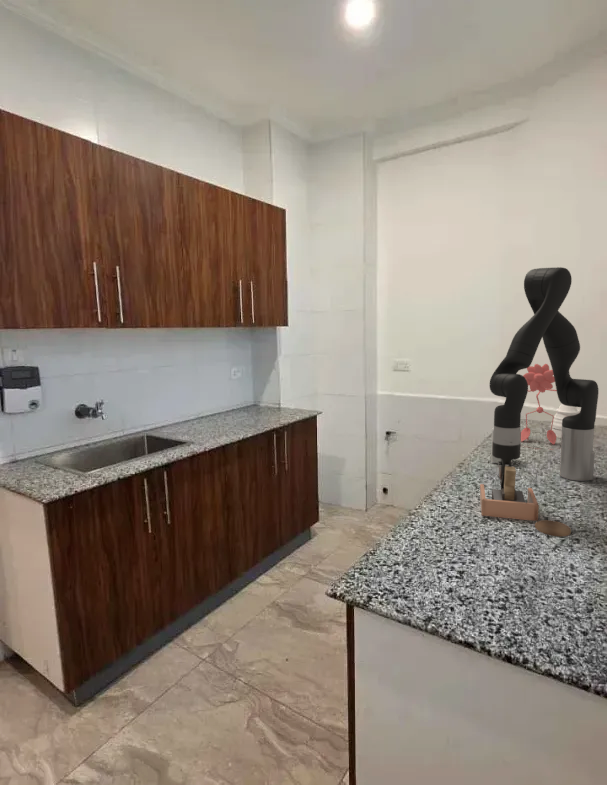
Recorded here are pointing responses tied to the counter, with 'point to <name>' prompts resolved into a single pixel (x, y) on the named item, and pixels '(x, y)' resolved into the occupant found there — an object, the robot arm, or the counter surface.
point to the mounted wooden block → (508, 488)
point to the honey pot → (560, 414)
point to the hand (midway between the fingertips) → (504, 497)
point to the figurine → (539, 381)
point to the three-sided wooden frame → (510, 507)
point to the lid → (552, 528)
